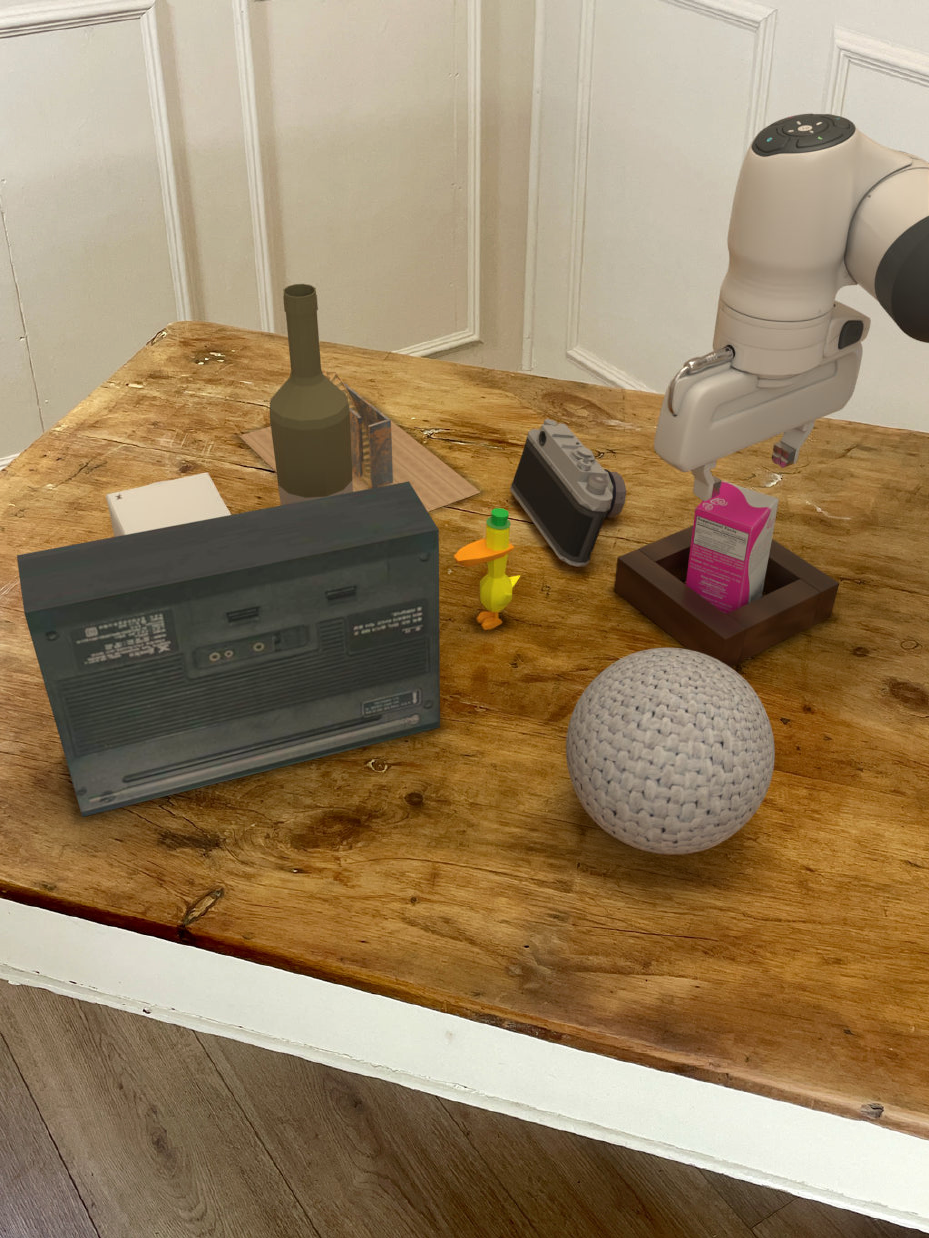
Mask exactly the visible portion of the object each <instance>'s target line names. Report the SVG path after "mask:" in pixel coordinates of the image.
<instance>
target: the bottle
mask: <svg viewBox="0 0 929 1238" xmlns="http://www.w3.org/2000/svg"><path fill="white" fill-rule="evenodd" d="M316 289H317V288H316V287H315V286H313V285H312V284H306V283H294V284H291V285H287V286H286V287H284V288H283V292H282V293H283V297H282V298H283V309H284V312H285V318H286V319H285V320H286V330H287V340H288V351H289V362H290V373H289V374H290V375H289V377H288V379H286V381H285V382H284V383H283V384H282V385H281V387H280V388H279V389H278V390H277V391H276V392H275V393H274V394H273V395H272V397H271V398H270V400H269V401H270V402H269V423H270V426H271V432H272V440H273V448H274V456H275V463H276V471H277V472H276V471H275V472H276V479H277V486H278V494H279V502H280V506H281V505H286V504H292V503H297V502H302V501H308V500H313V499H318V498H323V497H329V496H334V495H339V494H345V493H350V492H353V480H352V456H351V431H350V411H349V402H348V399H347V396H346V394H345V393H344V392H342V391H341V390H340V389H339V388H338V387H337V386H336V385H334V384H333V383H332V382H331V381H330V380H329V379H327V378H326V377H325V376H324V375H323V372H322V371H323V370H322V362H321V360H322V359H321V349H320V333H319V322H318V321H319V320H318V310H319V305H318V295H317V290H316Z"/></svg>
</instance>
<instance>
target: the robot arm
mask: <svg viewBox="0 0 929 1238" xmlns="http://www.w3.org/2000/svg"><path fill="white" fill-rule="evenodd" d="M734 191H735V192H734V196H733V201H732V206H731V212H730V218H729V223H728V224H729V225H728V231H727V238H726V239H727V242H726V243H727V251H728V268H727V270H726V274H725V276H724V278H723V280H722V282H721V285H720V290H719V296H718V303H717V309H716V317H715V325H714V330H713V331H714V332H713V339H712V349H713V350H712V351H710V352H708V353H706V354H704V355H702V356H696V357H693V358H690V359H688V360H687V361H685V362H684V363H683V367H682V368H681V369H679V370H678V371H677V373H675V375H674V376H673V377H671V378H670V381H669V383H668V386H667V388H666V391H665V393H664V396H663V399H662V402H661V407H660V410H659V415H658V418H657V419H658V420H657V423H656V427H655V434H654V440H653V442H654V443H653V449H654V452H655V453H656V455H657V456H658V457H659V459H661V460H662V461H663V462H665V463H666V464H668V465H669V466H671V467H673V468H674V469H676V470H678V471H680V472H682V473H688V472H691V474H692V476H693V478H694V479H693V487H692V491H693V495H694V496H695V497H697V498H698V499H699V500H701V501H707V500H709V499H712V498H714V497H716V496H718V495H719V494H720V490H719V489H720V487H721V482H722V481H723V480H722V479H720V478H719V477H717V476H715V475H714V474H713V473H712V471H711V470H713V469H715V468H716V467H717V462H718V460H721V459H723V458H725V457H728V456H731V455H732V454H735V453H738V452H740V451H742V450H745V449H747V448H750V447H752V446H755V445H757V444H760V443H762V442H765V441H767V440H770V439H772V438H775V437H777V436H780V435H782V436H781V438H780V440H779V441H776V442H774V443H773V446H772V453H771V461H772V463H774V464H775V465H778V466H779V467H781V468H782V469H784V468H786V467H790V466H792V465H795V464H796V463H798V461H799V457H800V451H801V448H802V446H803V445H804V444H805V442H806V440H807V439H808V437H809V436H810V435H811V433H812V431H813V430H814V428H815V423H816V420H819V419H821V418H824V417H826V416H829V415H832V414H834V413H836V412H840V411H841V410H843V409H844V408H845V407H846V406H847V404H848V402H849V401H850V400H851V398H852V397H853V396H854V395H853V394H854V392H855V389H856V386H857V381H858V377H859V374H860V369H861V365H862V358H863V344H862V342H864V341H865V339H867V337H868V335H869V332H870V329H871V324H872V323H871V321H872V320H871V318H870V317H869V316H867V315H866V314H864V313H862V312H861V311H859V310H857V309H855V308H853V307H851V306H849V305H847V304H845V303H842V302H840V301H839V300H836V296H837V294H838V292H839V291H840V290H841V289H842V288H843V287H847V286H858V285H859V286H860V287H861V288H862V289H863V290H864V291H866V292H867V293H868V294H869V295H870V296H871V297H872V298H874V300H876V301H877V302H878V303H879V306H881V308H882V309H883V310H884V311H885V312H886V314H887V315H888V316H889V317H890V318H891V319H892V321H893V322H894V324H895V325H896V326H897V327H898V328H899V329H900V330H901V331H902V332H903V333H904V334H905V335H906V336H908V337H909V338H911V339H913V340H914V341H918V342H921V343H926V344H929V162H928V161H926V160H925V159H923V158H921V157H919V156H917V155H915V154H913V153H908V152H906V151H902V150H896V149H894V148H889V147H886V146H884V145H882V144H880V143H879V142H877V141H875V140H874V139H873V138H870V137H869V136H867V135H866V134H865V133H864V132H862V131H861V130H860V129H858V127H857V126H856V125H855V123H854V122H853V121H851V120H850V119H848V118H847V117H843V116H839V115H835V114H830V113H812V112H811V113H801V114H796V115H791V116H787V117H785V118H782V119H779V120H776V121H774V122H772V123H770V124H769V125H767V126H765V127H764V128H762V130H760V131H759V132H758V133H757V135H756V136H755V137H754V138H753V139H752V141H751V142H750V144H749V147H748V149H747V151H746V152H745V155H744V158H743V161H742V164H741V167H740V171H739V173H738V179H737V181H736V186H735V190H734Z"/></svg>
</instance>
